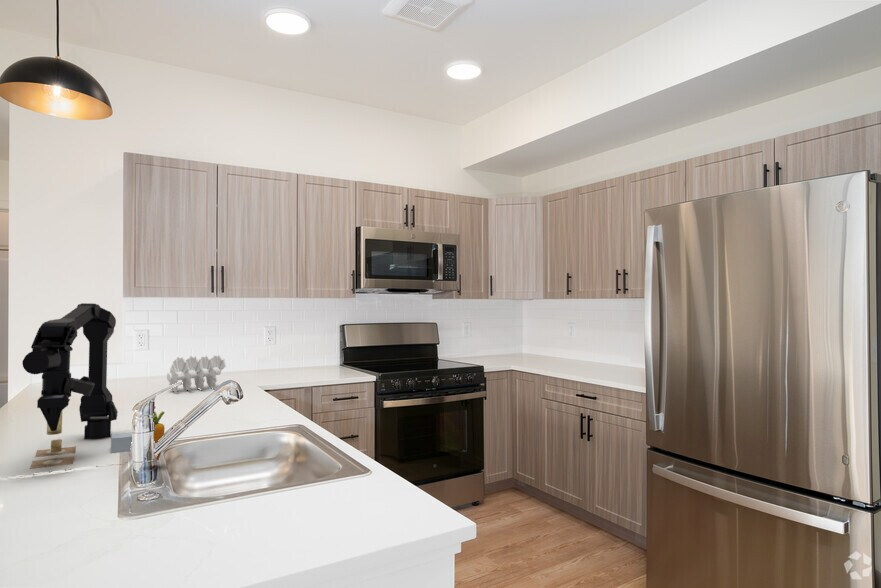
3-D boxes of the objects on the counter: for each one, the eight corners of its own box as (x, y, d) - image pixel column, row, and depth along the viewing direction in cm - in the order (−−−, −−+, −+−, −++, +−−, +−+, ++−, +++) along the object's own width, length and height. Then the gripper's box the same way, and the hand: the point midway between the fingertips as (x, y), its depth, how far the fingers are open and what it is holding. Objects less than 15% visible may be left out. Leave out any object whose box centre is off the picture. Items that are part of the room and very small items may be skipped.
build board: (74, 459, 143) (74, 455, 143) (73, 467, 137) (73, 463, 137) (32, 464, 138) (32, 460, 138) (29, 472, 132) (29, 468, 132)
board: (75, 449, 153) (76, 435, 154) (74, 456, 147) (75, 441, 147) (37, 454, 149) (37, 439, 149) (34, 461, 142) (34, 445, 142)
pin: (62, 431, 140) (62, 408, 140) (61, 433, 137) (62, 410, 138) (47, 432, 138) (47, 409, 139) (46, 435, 136) (46, 411, 136)
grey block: (134, 448, 155) (135, 431, 155) (135, 453, 150) (136, 436, 150) (110, 451, 152) (111, 434, 152) (110, 456, 147) (111, 438, 147)
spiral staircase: (165, 400, 258) (215, 392, 276) (178, 388, 247) (229, 381, 265) (158, 365, 263) (208, 360, 281) (170, 352, 252) (221, 347, 271)
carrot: (167, 465, 140) (169, 408, 140) (155, 470, 135) (157, 411, 135) (150, 464, 140) (151, 407, 141) (137, 469, 136) (139, 411, 136)
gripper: (92, 371, 135) (90, 433, 134) (93, 364, 151) (91, 419, 150) (38, 374, 129) (35, 438, 128) (44, 366, 145) (42, 423, 144)
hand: (54, 429), depth 138 cm, fingers closed on pin, 3 cm apart
